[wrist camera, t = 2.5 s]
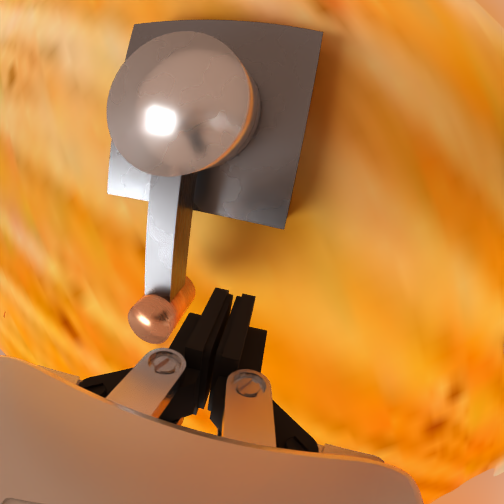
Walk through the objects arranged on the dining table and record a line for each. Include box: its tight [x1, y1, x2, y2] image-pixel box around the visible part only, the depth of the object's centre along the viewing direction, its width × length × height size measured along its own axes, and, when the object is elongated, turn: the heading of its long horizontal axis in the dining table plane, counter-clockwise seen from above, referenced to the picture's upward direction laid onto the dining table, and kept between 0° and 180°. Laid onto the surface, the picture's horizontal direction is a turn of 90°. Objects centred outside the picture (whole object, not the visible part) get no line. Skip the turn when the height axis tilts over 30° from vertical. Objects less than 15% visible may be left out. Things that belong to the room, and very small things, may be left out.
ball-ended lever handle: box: [107, 31, 261, 344], centre depth 15 cm, size 16×7×4 cm, turn 170°
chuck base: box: [107, 20, 323, 229], centre depth 17 cm, size 12×12×3 cm
